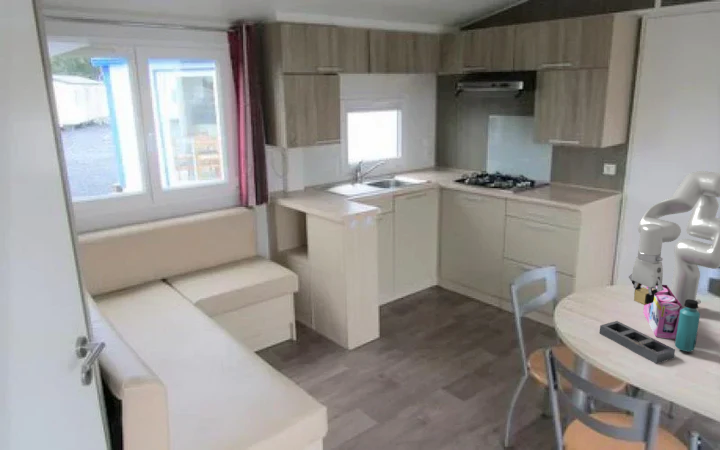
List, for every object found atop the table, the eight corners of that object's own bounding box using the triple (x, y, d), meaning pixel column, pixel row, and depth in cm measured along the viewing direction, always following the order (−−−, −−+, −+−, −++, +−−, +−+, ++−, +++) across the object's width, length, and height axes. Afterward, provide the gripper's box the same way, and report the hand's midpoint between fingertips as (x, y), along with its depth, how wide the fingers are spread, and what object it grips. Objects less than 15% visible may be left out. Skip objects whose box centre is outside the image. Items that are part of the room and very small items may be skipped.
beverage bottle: (694, 357, 189) (703, 306, 183) (672, 352, 192) (681, 302, 187) (694, 349, 194) (703, 299, 189) (673, 344, 198) (681, 295, 192)
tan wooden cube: (642, 298, 207) (643, 287, 205) (652, 302, 203) (654, 291, 201) (633, 300, 205) (635, 289, 204) (644, 305, 201) (645, 294, 200)
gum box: (679, 341, 200) (685, 309, 196) (656, 339, 202) (661, 306, 198) (662, 314, 222) (667, 284, 218) (642, 312, 224) (646, 283, 220)
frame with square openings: (615, 328, 211) (617, 320, 210) (673, 358, 188) (675, 349, 188) (599, 333, 207) (600, 325, 206) (656, 363, 185) (657, 355, 184)
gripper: (676, 261, 192) (670, 306, 198) (636, 248, 207) (631, 290, 213) (662, 265, 189) (656, 311, 195) (622, 251, 204) (618, 294, 210)
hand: (643, 299), depth 204 cm, fingers closed on tan wooden cube, 4 cm apart
